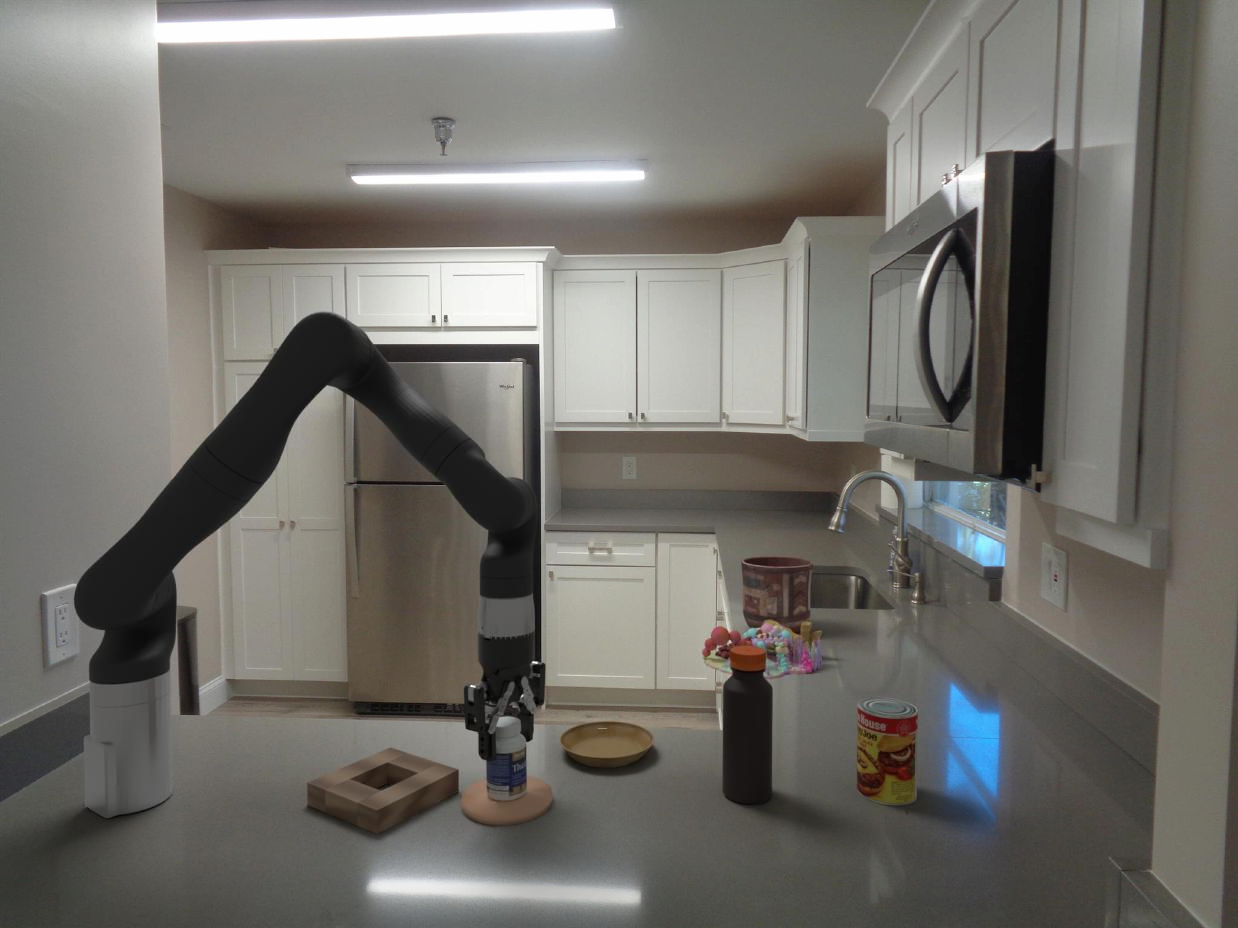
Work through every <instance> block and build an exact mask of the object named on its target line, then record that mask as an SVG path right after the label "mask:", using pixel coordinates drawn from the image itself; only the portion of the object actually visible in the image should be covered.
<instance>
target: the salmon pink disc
mask: <svg viewBox="0 0 1238 928" xmlns="http://www.w3.org/2000/svg"><path fill="white" fill-rule="evenodd" d="M486 784H487V778H483V779H480V780H478V781H476V782H474V783H472V784H470V785H469V786H468V787H466V789H465V790H464V791H463V793H462V794H461V811H462V813H463V814H464V815H465V816H466V817H467V818H468V819H470V820H472V821H474V822H476V823H481V824H485V825H490V826H491V825H492V826H509V825H517V824H522V823H526V822H530V821H533V820H535V819H537V818H539V817H541V816H543V815H544V814H545V813H547V811H549V810H550V808H551V806H552V804H553V790H552V788H551V786H550V785H549V783H547V781H544V780H543V779H541V778H538V777H535V776H531V775H527V790H526V793H525V794H524V795H523V796H522V797H520V798H517V799H514V800H510V801H499V800H494V799H492V798H490V797H489V796H488V794H487V785H486Z"/></svg>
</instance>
